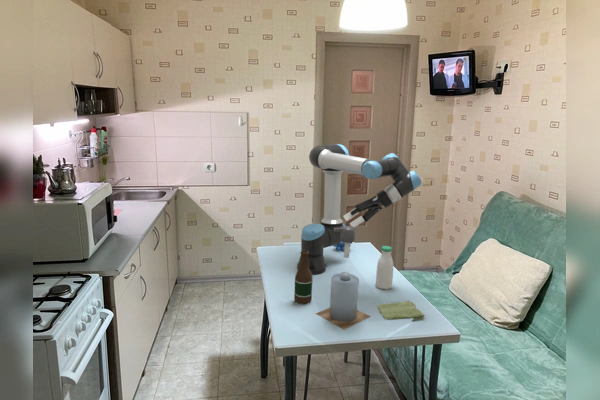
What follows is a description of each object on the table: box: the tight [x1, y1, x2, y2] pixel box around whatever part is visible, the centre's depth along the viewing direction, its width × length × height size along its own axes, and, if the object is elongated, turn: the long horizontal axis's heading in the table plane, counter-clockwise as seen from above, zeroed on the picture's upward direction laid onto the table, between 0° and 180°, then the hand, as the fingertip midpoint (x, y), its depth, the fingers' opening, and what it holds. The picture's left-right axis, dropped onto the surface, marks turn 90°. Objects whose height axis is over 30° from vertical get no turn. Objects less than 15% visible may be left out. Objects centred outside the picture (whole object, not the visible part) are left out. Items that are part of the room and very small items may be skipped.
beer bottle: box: [293, 250, 313, 305], centre depth 183 cm, size 8×8×24 cm
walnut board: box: [315, 306, 371, 330], centre depth 174 cm, size 16×16×1 cm
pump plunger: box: [334, 225, 356, 259], centre depth 166 cm, size 6×8×12 cm
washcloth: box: [376, 300, 425, 321], centre depth 178 cm, size 13×18×3 cm
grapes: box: [332, 242, 352, 252], centre depth 250 cm, size 12×7×12 cm, turn 89°
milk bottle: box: [375, 245, 394, 290], centre depth 202 cm, size 8×8×20 cm
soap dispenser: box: [329, 271, 360, 322], centre depth 172 cm, size 11×11×18 cm
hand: (348, 222), depth 189 cm, fingers open, 13 cm apart
